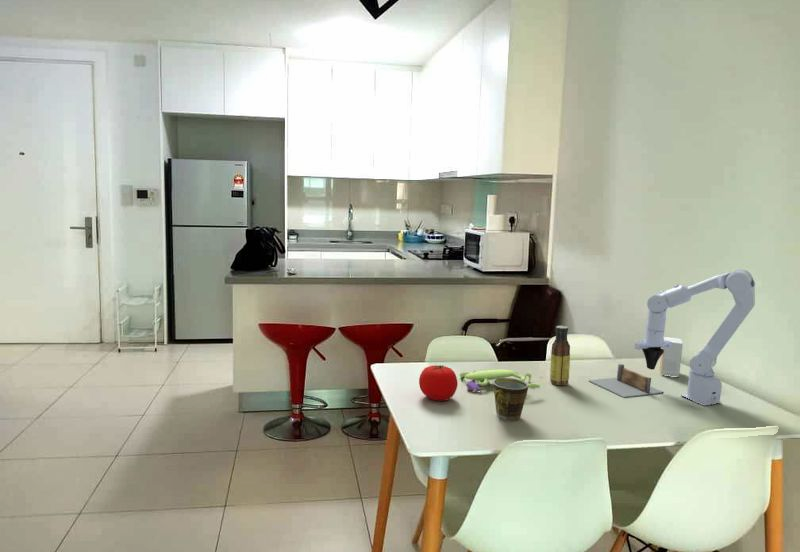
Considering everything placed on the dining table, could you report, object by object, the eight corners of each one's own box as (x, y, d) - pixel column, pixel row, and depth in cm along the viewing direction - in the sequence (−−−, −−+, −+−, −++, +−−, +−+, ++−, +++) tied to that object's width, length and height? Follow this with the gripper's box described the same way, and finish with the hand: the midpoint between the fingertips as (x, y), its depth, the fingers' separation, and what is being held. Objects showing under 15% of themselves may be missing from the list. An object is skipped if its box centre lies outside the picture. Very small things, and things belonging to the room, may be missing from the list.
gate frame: (588, 381, 216) (590, 364, 215) (626, 377, 223) (628, 361, 222) (623, 397, 201) (625, 379, 200) (663, 393, 207) (665, 375, 206)
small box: (659, 370, 234) (663, 336, 232) (677, 372, 232) (681, 338, 230) (660, 376, 226) (664, 341, 224) (679, 378, 224) (683, 343, 222)
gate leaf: (621, 380, 216) (622, 368, 215) (624, 380, 216) (625, 368, 216) (644, 390, 206) (646, 378, 205) (647, 390, 206) (649, 377, 206)
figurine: (538, 402, 194) (540, 385, 193) (453, 391, 200) (455, 375, 199) (538, 384, 212) (540, 368, 211) (461, 375, 218) (462, 359, 217)
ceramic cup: (501, 407, 187) (504, 375, 185) (531, 416, 181) (534, 383, 179) (478, 419, 177) (481, 385, 175) (509, 429, 171) (512, 394, 169)
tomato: (464, 401, 190) (466, 368, 189) (432, 407, 184) (434, 373, 183) (441, 389, 200) (443, 358, 199) (411, 395, 194) (412, 362, 193)
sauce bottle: (566, 381, 215) (571, 325, 212) (569, 387, 209) (575, 329, 206) (547, 379, 216) (552, 324, 213) (550, 385, 209) (554, 328, 206)
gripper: (662, 325, 215) (657, 363, 217) (629, 327, 209) (625, 366, 212) (678, 330, 209) (673, 369, 211) (645, 332, 203) (640, 372, 205)
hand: (650, 368), depth 211 cm, fingers closed
